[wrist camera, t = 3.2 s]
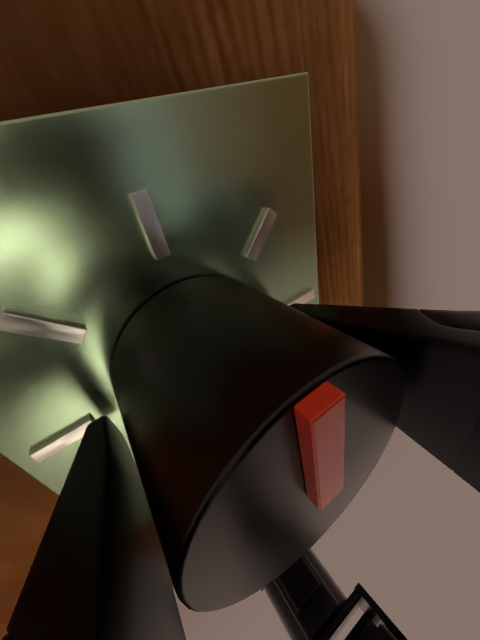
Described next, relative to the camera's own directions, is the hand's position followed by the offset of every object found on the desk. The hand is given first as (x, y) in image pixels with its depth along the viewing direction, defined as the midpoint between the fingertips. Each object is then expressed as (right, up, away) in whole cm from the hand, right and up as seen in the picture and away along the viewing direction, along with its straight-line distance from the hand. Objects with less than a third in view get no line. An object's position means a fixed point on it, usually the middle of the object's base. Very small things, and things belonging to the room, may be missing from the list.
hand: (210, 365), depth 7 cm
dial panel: (-2, +1, +3) cm, 4 cm away
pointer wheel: (0, 0, 0) cm, 0 cm away
